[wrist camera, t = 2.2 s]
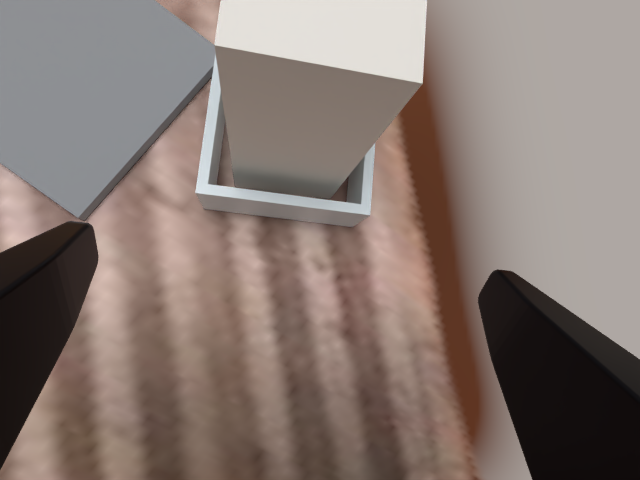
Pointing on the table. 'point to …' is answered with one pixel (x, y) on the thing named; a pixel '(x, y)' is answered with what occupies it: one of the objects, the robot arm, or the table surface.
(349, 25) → the tall block
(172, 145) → the table surface
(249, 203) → the sleeve
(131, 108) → the mat
